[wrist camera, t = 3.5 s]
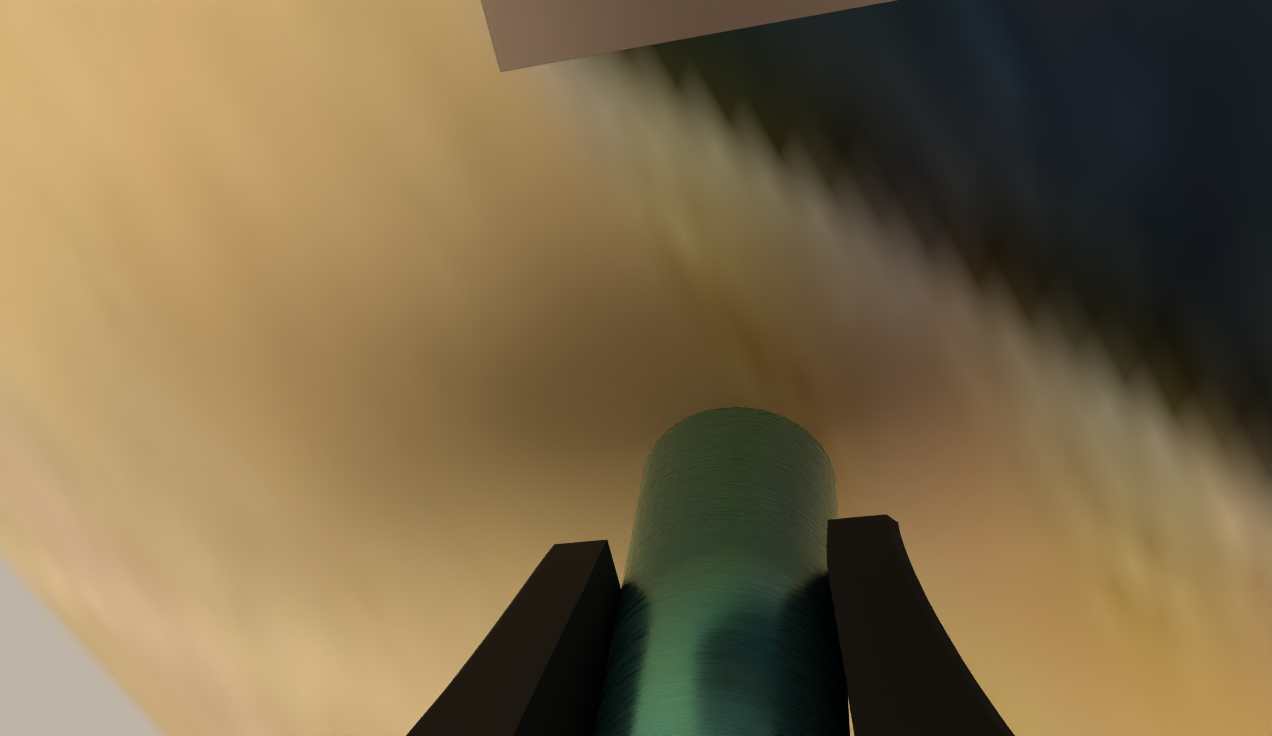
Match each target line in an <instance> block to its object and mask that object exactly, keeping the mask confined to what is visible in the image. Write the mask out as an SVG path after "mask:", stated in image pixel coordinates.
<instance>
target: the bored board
mask: <svg viewBox="0 0 1272 736" xmlns="http://www.w3.org/2000/svg"><path fill="white" fill-rule="evenodd" d="M890 1H895V0H481V2H482V6H483V10H484V13H485V17H486V21H487V25H488V28H489V32H490V36H491V39H492V43H493V47H494V51H495V54H496V58H497V62H498V65H499V69H500V72H504V71H510V70H515V69H521V68H526V67H532V66H537V65H543V64H548V63H554V62H559V61H565V60H570V59H576V58H581V57H587V56H592V55H598V54H603V53H609V52H614V51H620V50H625V49H631V48H636V47H642V46H647V45H653V44H658V43H664V42H669V41H675V40H680V39H686V38H691V37H697V36H702V35H708V34H713V33H719V32H725V31H730V30H736V29H741V28H747V27H752V26H758V25H763V24H769V23H774V22H780V21H785V20H791V19H796V18H802V17H807V16H813V15H818V14H824V13H829V12H835V11H840V10H846V9H851V8H857V7H862V6H868V5H873V4H879V3H884V2H890Z"/></svg>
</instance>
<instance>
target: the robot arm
mask: <svg viewBox="0 0 1272 736" xmlns="http://www.w3.org/2000/svg"><path fill="white" fill-rule="evenodd" d="M827 569H828V575H829V581H830V587H831V593H832V600H833V606H834V612H835V618H836V624H837V630H838V637H839V643H840V649H841V654H842V660H843V666H844V672H845V678H846V684H847V691H848V699H849V705H850V711H851V717H852V723H853V729H854V736H1015V735H1014V734H1013V733H1012V731H1011V730H1010V729H1009V727H1008V726H1007V725H1006V723H1005V722H1004V720H1003V719H1002V718H1001V716H1000V715H999V713H998V712H997V710H996V709H995V708H994V706H993V705H992V703H991V702H990V700H989V699H988V698H987V696H986V695H985V693H984V692H983V690H982V689H981V687H980V686H979V684H978V683H977V681H976V680H975V678H974V677H973V675H972V674H971V672H970V671H969V669H968V668H967V666H966V664H965V663H964V661H963V660H962V658H961V656H960V655H959V653H958V651H957V650H956V648H955V646H954V645H953V643H952V641H951V640H950V638H949V636H948V635H947V633H946V631H945V629H944V628H943V626H942V624H941V623H940V621H939V619H938V618H937V616H936V614H935V612H934V610H933V608H932V606H931V605H930V603H929V601H928V599H927V597H926V595H925V593H924V591H923V589H922V587H921V585H920V583H919V580H918V578H917V576H916V574H915V572H914V570H913V567H912V565H911V563H910V560H909V558H908V555H907V553H906V550H905V547H904V544H903V541H902V538H901V534H900V531H899V525H898V522H896V521H895V520H893V519H892V518H891V517H889V516H888V515H875V516H864V517H853V518H842V519H831V520H827ZM620 594H621V587H620V584H619V580H618V577H617V573H616V569H615V566H614V562H613V559H612V555H611V551H610V548H609V544H608V541H607V540H598V541H587V542H576V543H565V544H554V546H553V547H552V548H551V549H550V551H549V552H548V553H547V554H546V556H545V557H544V558H543V560H542V561H541V562H540V564H539V565H538V566H537V568H536V569H535V570H534V572H533V573H532V575H531V576H530V577H529V579H528V580H527V581H526V583H525V584H524V586H523V587H522V588H521V590H520V591H519V593H518V594H517V595H516V597H515V598H514V599H513V601H512V602H511V604H510V605H509V606H508V608H507V609H506V610H505V612H504V613H503V615H502V616H501V617H500V619H499V620H498V621H497V623H496V624H495V625H494V627H493V628H492V630H491V631H490V632H489V634H488V635H487V636H486V638H485V639H484V640H483V641H482V643H481V644H480V645H479V647H478V648H477V649H476V650H475V652H474V653H473V654H472V656H471V657H470V658H469V660H468V661H467V662H466V663H465V665H464V666H463V667H462V669H461V670H460V671H459V673H458V674H457V675H456V676H455V678H454V679H453V680H452V682H451V683H450V684H449V685H448V687H447V688H446V689H445V690H444V692H443V693H442V694H441V695H440V696H439V698H438V699H437V700H436V701H435V702H434V703H433V705H432V706H431V707H430V708H429V709H428V710H427V712H426V713H425V714H424V715H423V716H422V718H421V719H420V720H419V721H418V722H417V723H416V725H415V726H414V727H413V728H412V729H411V730H410V732H409V733H408V734H407V735H406V736H594V731H595V725H596V720H597V715H598V710H599V704H600V699H601V694H602V689H603V683H604V678H605V673H606V667H607V662H608V657H609V652H610V646H611V641H612V636H613V631H614V625H615V620H616V615H617V610H618V604H619V599H620Z"/></svg>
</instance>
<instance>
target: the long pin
mask: <svg viewBox="0 0 1272 736" xmlns="http://www.w3.org/2000/svg"><path fill="white" fill-rule="evenodd" d="M831 519H838V505H837V487H836V477H835V473H834V469H833V466H832V464H831V461H830V459H829V457H828V456H827V454H826V452H825V451H824V449H823V448H822V446H821V445H820V444H819V443H818V442H817V440H816V439H815V438H814V437H812V436H811V435H810V434H809V433H808V432H807V431H806V430H804V429H803V428H801V427H800V426H799V425H797V424H795V423H794V422H792V421H790V420H788V419H786V418H784V417H781V416H779V415H776V414H774V413H770V412H767V411H763V410H758V409H752V408H739V407H732V408H720V409H714V410H709V411H705V412H702V413H698V414H696V415H693V416H691V417H689V418H686V419H685V420H683V421H681V422H679V423H678V424H676V425H675V426H673V427H672V428H671V429H669V430H668V431H667V432H666V433H665V434H664V435H663V436H662V437H661V438H660V439H659V440H658V442H657V443H656V444H655V446H654V447H653V448H652V450H651V452H650V454H649V456H648V458H647V461H646V465H645V468H644V473H643V478H642V483H641V489H640V494H639V499H638V504H637V510H636V515H635V520H634V525H633V531H632V536H631V541H630V546H629V552H628V557H627V562H626V568H625V573H624V578H623V583H622V589H621V594H620V599H619V604H618V610H617V615H616V620H615V625H614V631H613V636H612V641H611V646H610V652H609V657H608V662H607V667H606V673H605V678H604V683H603V689H602V694H601V699H600V704H599V710H598V715H597V720H596V725H595V731H594V736H850V727H849V708H848V691H847V684H846V678H845V672H844V666H843V660H842V654H841V649H840V643H839V637H838V630H837V624H836V618H835V612H834V606H833V600H832V593H831V587H830V581H829V575H828V569H827V520H831Z"/></svg>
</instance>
